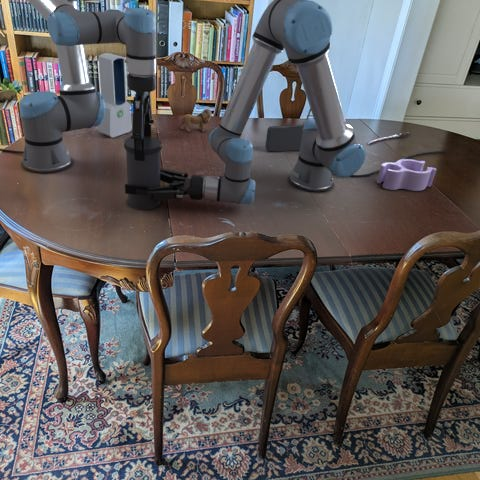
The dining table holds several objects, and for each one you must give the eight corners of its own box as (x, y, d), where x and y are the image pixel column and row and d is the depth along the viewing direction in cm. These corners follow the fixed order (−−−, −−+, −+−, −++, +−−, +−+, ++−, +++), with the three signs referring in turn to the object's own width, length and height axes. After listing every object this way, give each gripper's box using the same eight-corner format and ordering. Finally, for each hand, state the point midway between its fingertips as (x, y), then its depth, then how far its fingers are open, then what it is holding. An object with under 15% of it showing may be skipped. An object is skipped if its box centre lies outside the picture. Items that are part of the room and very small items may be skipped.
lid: (150, 157, 129) (150, 152, 128) (117, 149, 131) (116, 144, 130) (168, 145, 137) (168, 140, 136) (136, 138, 140) (136, 133, 139)
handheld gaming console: (315, 147, 196) (319, 124, 190) (317, 149, 194) (322, 126, 188) (264, 149, 189) (267, 125, 183) (266, 152, 187) (269, 127, 181)
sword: (406, 132, 223) (406, 130, 222) (411, 134, 221) (412, 132, 220) (362, 144, 207) (363, 141, 206) (368, 146, 205) (368, 143, 204)
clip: (389, 193, 165) (394, 175, 161) (370, 177, 175) (375, 160, 171) (435, 189, 171) (441, 172, 167) (414, 174, 181) (420, 158, 177)
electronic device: (110, 138, 183) (105, 58, 167) (97, 133, 186) (90, 54, 170) (132, 130, 192) (130, 54, 176) (119, 126, 195) (115, 50, 179)
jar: (150, 212, 139) (150, 152, 128) (122, 205, 141) (119, 145, 131) (165, 199, 147) (166, 141, 136) (138, 192, 149) (136, 135, 138)
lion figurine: (208, 127, 204) (210, 107, 199) (212, 131, 200) (213, 111, 195) (176, 128, 199) (176, 107, 195) (179, 132, 195) (179, 111, 190)
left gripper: (135, 62, 132) (137, 137, 144) (117, 83, 113) (121, 167, 125) (162, 65, 133) (161, 139, 145) (148, 86, 114) (149, 170, 125)
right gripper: (199, 217, 133) (121, 210, 133) (206, 183, 152) (137, 176, 151) (200, 193, 129) (119, 186, 129) (207, 161, 148) (136, 155, 147)
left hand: (143, 152), depth 135 cm, fingers closed on lid, 10 cm apart
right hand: (129, 181), depth 140 cm, fingers closed on jar, 10 cm apart
